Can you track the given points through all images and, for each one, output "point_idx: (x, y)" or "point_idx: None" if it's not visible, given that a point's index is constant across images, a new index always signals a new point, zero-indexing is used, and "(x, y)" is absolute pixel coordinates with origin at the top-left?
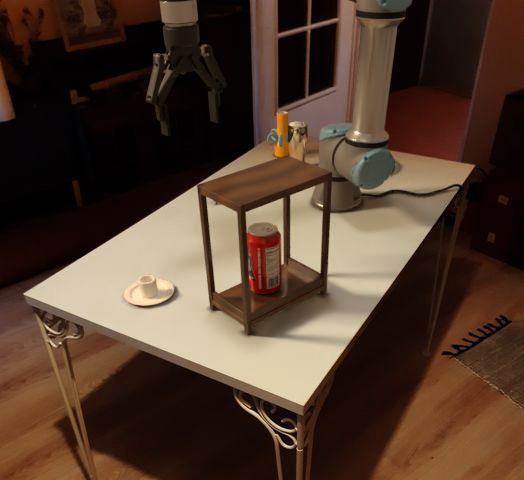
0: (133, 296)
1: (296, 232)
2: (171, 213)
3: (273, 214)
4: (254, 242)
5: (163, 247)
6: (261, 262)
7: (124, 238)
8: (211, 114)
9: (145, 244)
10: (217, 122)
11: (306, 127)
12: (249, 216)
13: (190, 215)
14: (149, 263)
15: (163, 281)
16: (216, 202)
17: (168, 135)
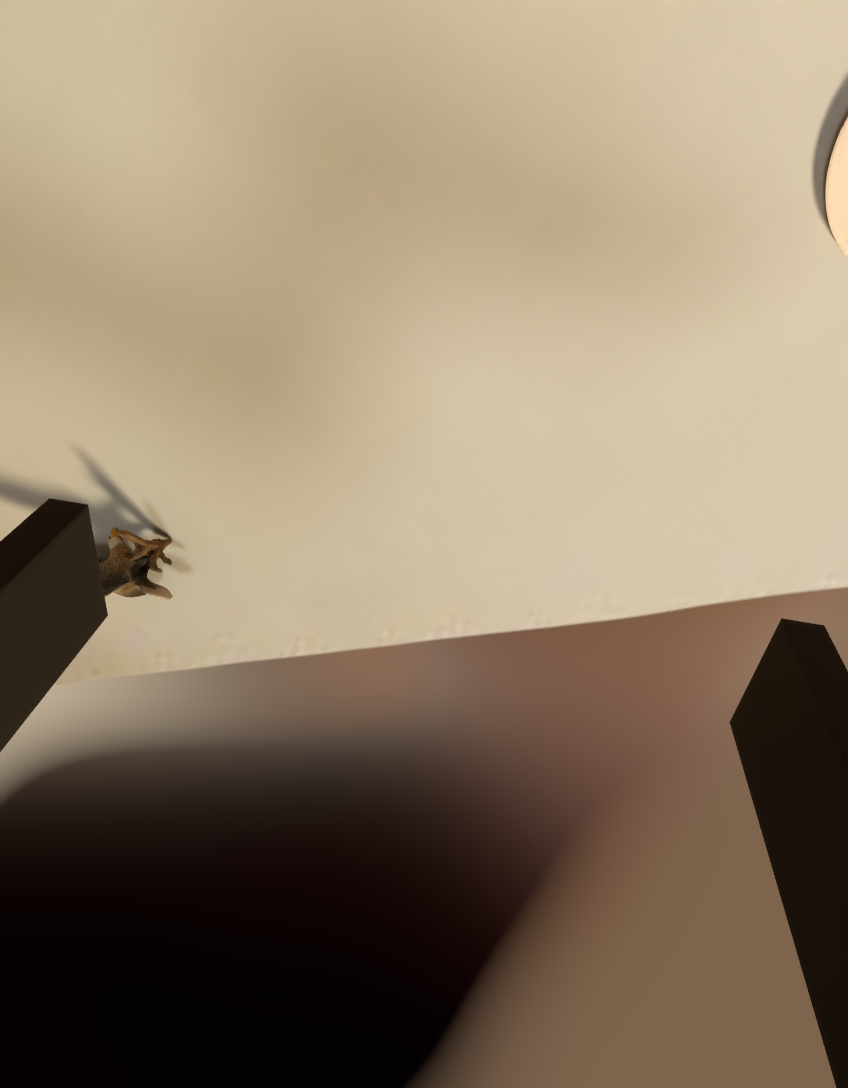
0: None
1: (26, 30)
2: (347, 610)
3: (23, 284)
4: None
5: (566, 441)
6: None
7: (601, 602)
8: (60, 640)
9: (590, 513)
10: (77, 506)
11: None
12: (123, 358)
13: (306, 549)
14: (707, 384)
15: (841, 181)
16: (168, 541)
17: (822, 631)
